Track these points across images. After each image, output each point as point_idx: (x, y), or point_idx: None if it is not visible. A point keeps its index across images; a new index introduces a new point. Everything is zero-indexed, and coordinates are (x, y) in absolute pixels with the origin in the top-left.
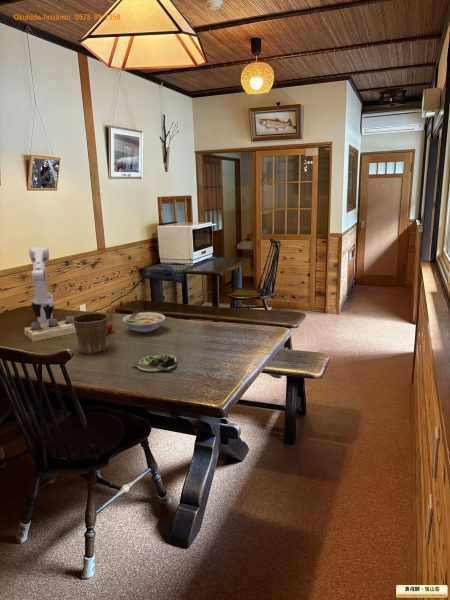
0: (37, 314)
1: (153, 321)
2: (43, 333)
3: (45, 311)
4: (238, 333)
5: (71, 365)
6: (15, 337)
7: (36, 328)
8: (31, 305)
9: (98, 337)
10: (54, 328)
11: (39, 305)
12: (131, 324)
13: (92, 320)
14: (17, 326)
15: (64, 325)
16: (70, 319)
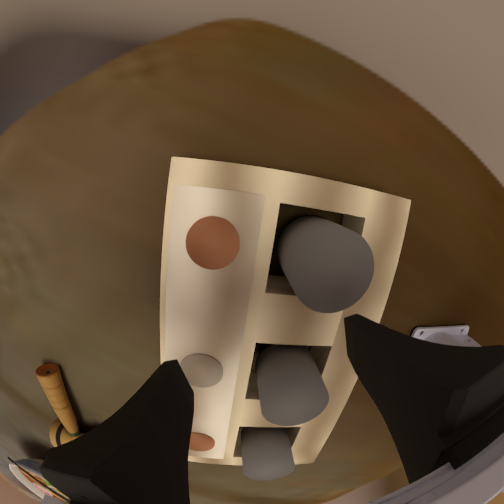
0: (360, 347)
1: (43, 490)
2: (163, 247)
3: (113, 428)
4: (15, 478)
5: None
6: (367, 123)
7: (285, 246)
8: (495, 375)
9: None
10: (203, 352)
11: (412, 461)
12: (21, 464)
13: None
14: (496, 242)
15: (224, 413)
16: (243, 460)
